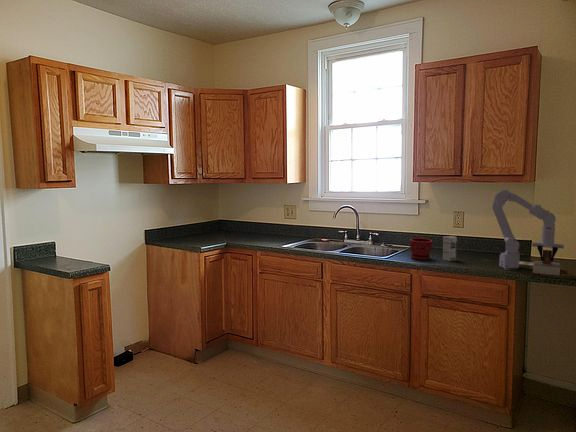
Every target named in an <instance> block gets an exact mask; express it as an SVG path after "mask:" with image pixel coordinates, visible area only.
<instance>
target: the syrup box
mask: <svg viewBox="0 0 576 432" xmlns="http://www.w3.org/2000/svg"><path fill="white" fill-rule="evenodd" d="M457 246H458V237H457V236H453V235H449V236H448V235H447V236H443V237H442V260H444V261H448V262H452V261H457V254H458V253H457V250H458V249H457V248H458V247H457Z"/></svg>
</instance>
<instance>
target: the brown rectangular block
mask: <svg viewBox="0 0 576 432" xmlns="http://www.w3.org/2000/svg"><path fill="white" fill-rule="evenodd" d="M542 258H543V259H542V263H544V264H551V259H552V250H549V249H543V251H542Z"/></svg>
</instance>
